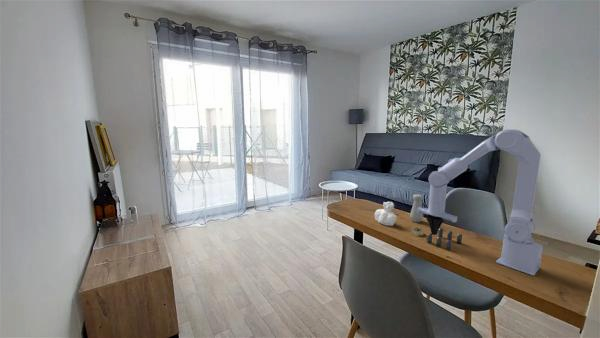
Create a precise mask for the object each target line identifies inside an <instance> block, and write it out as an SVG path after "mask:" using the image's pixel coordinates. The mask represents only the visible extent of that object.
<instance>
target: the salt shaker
mask: <svg viewBox="0 0 600 338" xmlns="http://www.w3.org/2000/svg"><path fill="white" fill-rule="evenodd" d="M412 199H413V203H412V208H411V210H410V214H409V217H410V220H411V221H412V222H413V221H414V222H413V223H421V222H422V221H423V219H424V214H423V213H417V208H419V207H421V208H423V203H422V201H423V200H424V196H423V195H422V194H413V195H412Z"/></svg>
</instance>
